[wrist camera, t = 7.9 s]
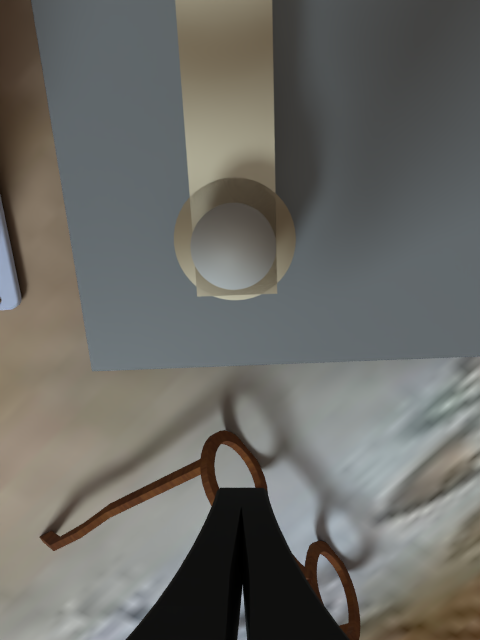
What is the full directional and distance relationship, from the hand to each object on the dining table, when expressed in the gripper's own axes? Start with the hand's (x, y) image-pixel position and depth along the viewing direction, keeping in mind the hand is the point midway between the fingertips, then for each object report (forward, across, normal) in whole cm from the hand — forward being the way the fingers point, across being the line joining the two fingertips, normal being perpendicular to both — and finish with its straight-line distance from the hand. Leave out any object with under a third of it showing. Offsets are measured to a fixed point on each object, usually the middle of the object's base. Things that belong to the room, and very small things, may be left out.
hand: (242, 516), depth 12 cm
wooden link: (+8, 0, -12) cm, 15 cm away
